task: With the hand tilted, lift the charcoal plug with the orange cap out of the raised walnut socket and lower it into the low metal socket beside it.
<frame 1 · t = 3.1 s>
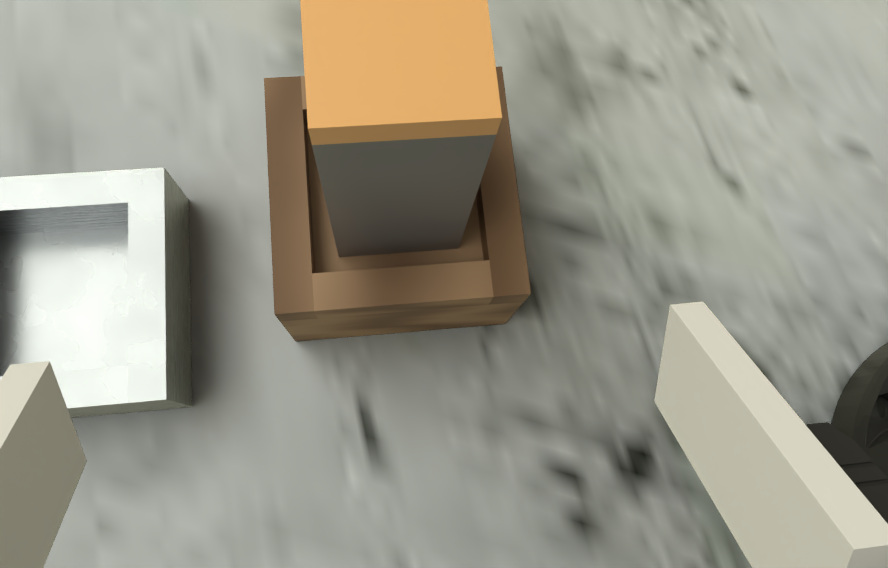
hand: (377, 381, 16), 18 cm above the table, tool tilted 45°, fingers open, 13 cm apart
upper socket: (393, 232, 36), on the table
plug: (394, 196, 31), point 5 cm above the table, touching upper socket
lower socket: (79, 308, 34), on the table
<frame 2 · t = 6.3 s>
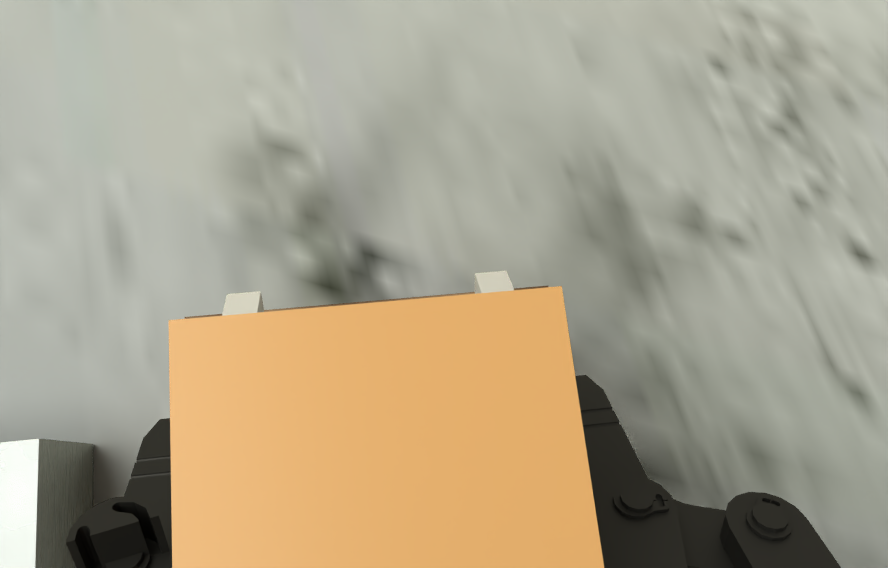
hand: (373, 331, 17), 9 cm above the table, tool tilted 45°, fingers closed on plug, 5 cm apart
upper socket: (386, 484, 25), on the table
plug: (386, 487, 20), point 5 cm above the table, touching gripper, upper socket
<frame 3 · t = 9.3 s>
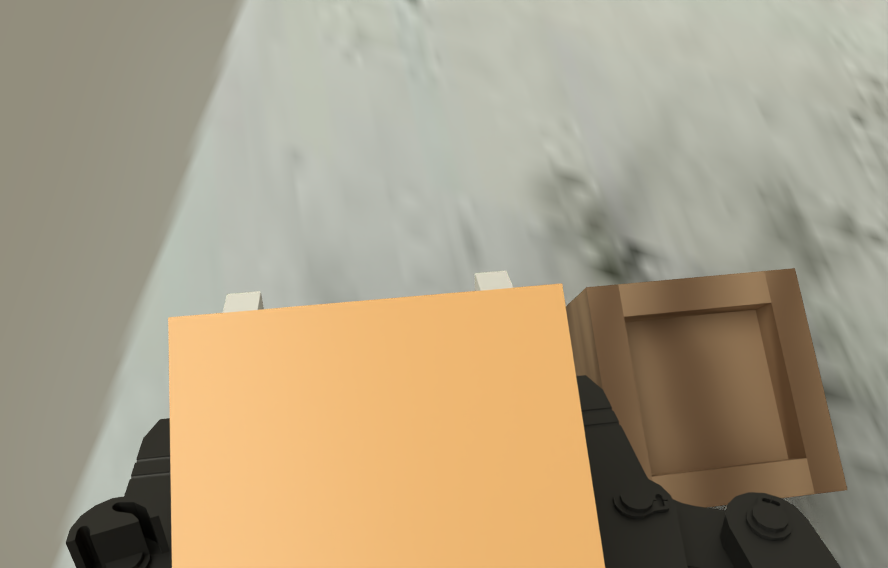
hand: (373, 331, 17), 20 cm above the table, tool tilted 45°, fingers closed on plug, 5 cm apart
upper socket: (660, 400, 38), on the table
plug: (386, 486, 20), point 17 cm above the table, touching gripper
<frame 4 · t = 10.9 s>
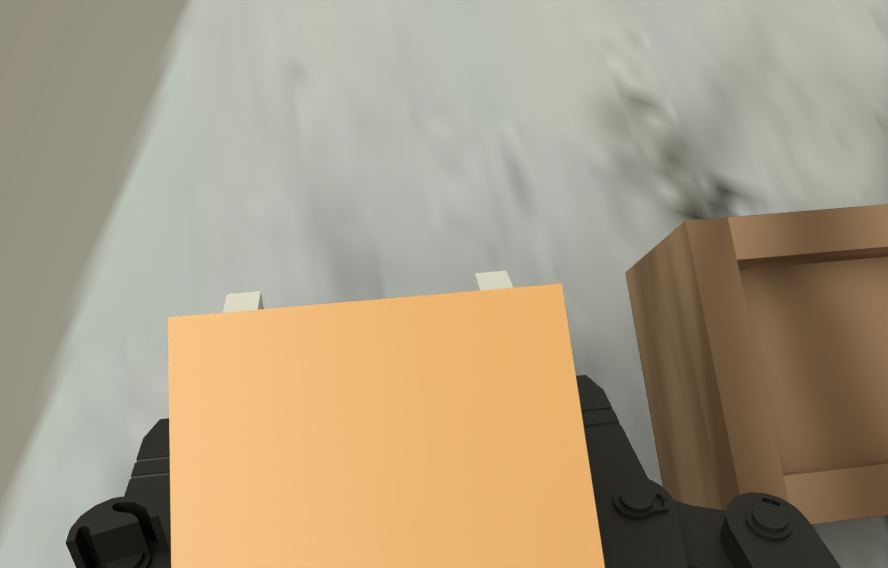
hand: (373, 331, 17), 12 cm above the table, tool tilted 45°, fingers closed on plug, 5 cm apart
upper socket: (763, 378, 30), on the table
plug: (386, 486, 20), point 8 cm above the table, touching gripper
when the fingers open (6 cm above the table, at t = 12.2 s): plug drops 1 cm, resting on lower socket.
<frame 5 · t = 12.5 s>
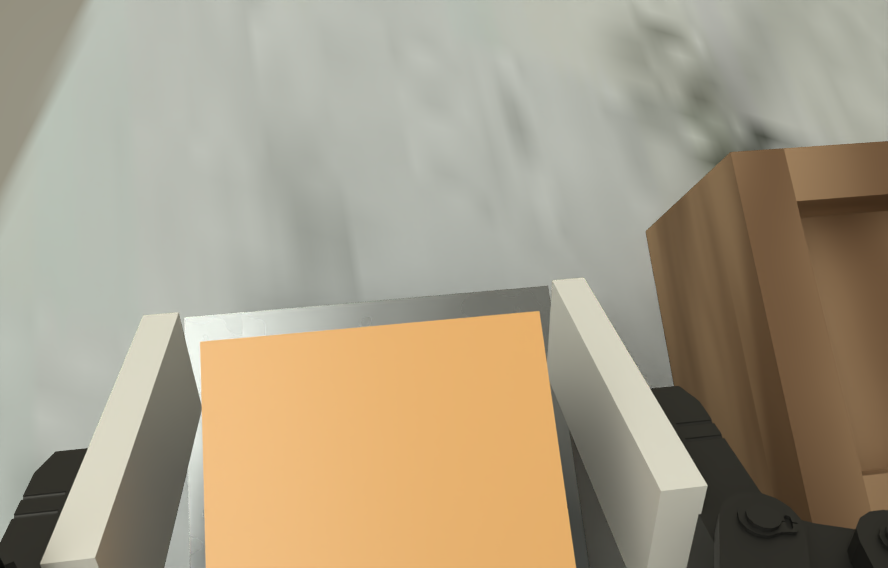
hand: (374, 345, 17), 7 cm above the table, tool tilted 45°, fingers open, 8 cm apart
upper socket: (812, 358, 25), on the table
plug: (387, 486, 22), point 1 cm above the table, touching lower socket
lower socket: (386, 485, 23), on the table
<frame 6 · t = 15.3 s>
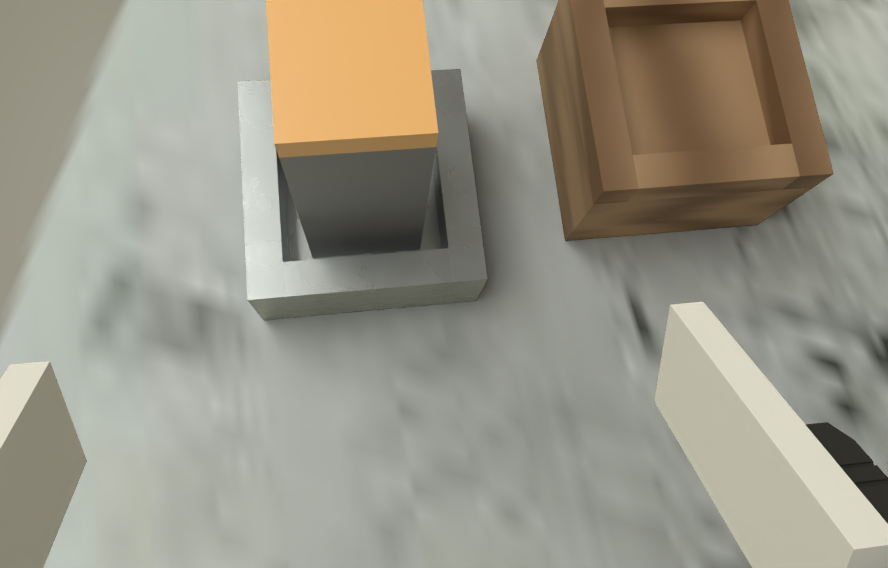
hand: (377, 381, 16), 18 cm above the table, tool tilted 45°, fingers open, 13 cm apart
upper socket: (644, 141, 37), on the table
plug: (362, 203, 34), point 1 cm above the table, touching lower socket
lower socket: (362, 210, 35), on the table
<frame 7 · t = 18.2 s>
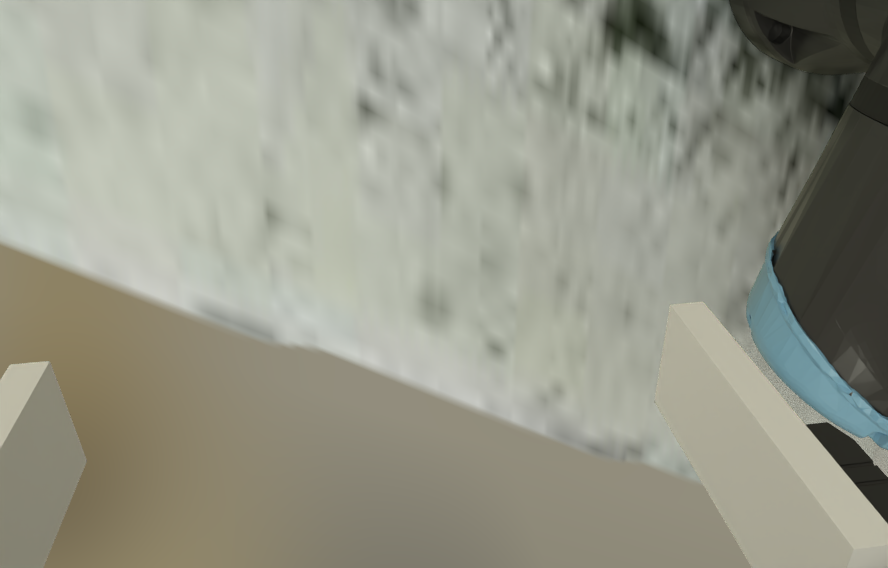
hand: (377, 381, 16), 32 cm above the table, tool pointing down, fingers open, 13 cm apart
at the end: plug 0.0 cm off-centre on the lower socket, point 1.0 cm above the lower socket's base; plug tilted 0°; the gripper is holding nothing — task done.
